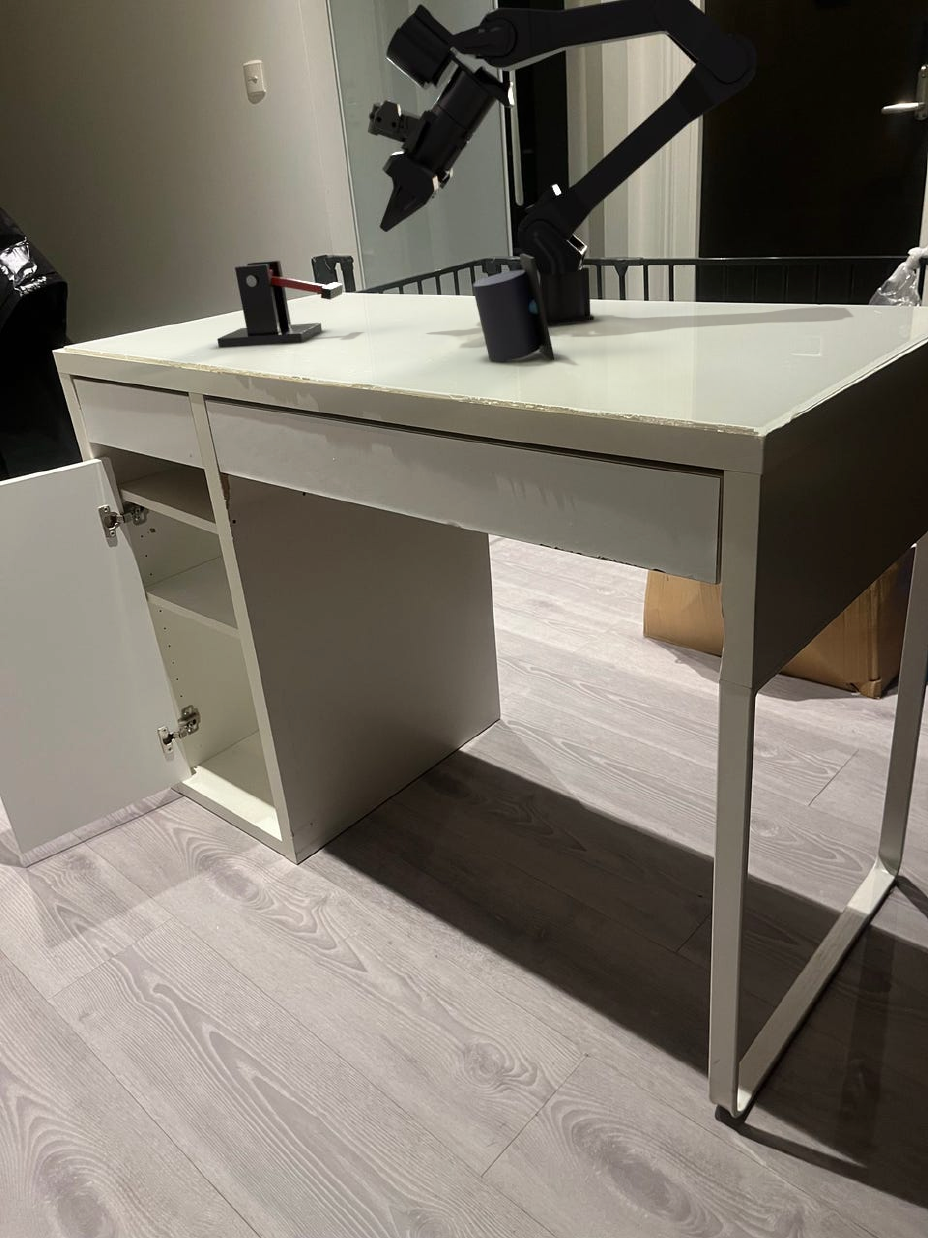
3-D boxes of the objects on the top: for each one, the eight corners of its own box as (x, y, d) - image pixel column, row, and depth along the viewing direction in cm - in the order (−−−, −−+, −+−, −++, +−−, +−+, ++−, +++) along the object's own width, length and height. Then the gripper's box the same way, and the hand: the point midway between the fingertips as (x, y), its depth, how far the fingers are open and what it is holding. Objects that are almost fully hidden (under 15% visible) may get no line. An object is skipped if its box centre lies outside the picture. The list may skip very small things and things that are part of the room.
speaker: (560, 346, 101) (544, 247, 97) (554, 360, 97) (538, 256, 92) (493, 357, 103) (475, 260, 99) (484, 371, 99) (464, 270, 94)
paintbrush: (341, 298, 125) (343, 279, 123) (330, 303, 120) (331, 284, 119) (257, 282, 126) (257, 264, 125) (242, 288, 122) (242, 269, 120)
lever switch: (322, 331, 129) (310, 256, 124) (302, 342, 122) (289, 263, 117) (242, 336, 131) (228, 263, 127) (218, 347, 124) (202, 270, 120)
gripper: (412, 69, 116) (346, 179, 123) (385, 71, 100) (311, 196, 107) (483, 130, 118) (414, 233, 126) (467, 140, 102) (389, 258, 110)
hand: (383, 229), depth 117 cm, fingers closed
